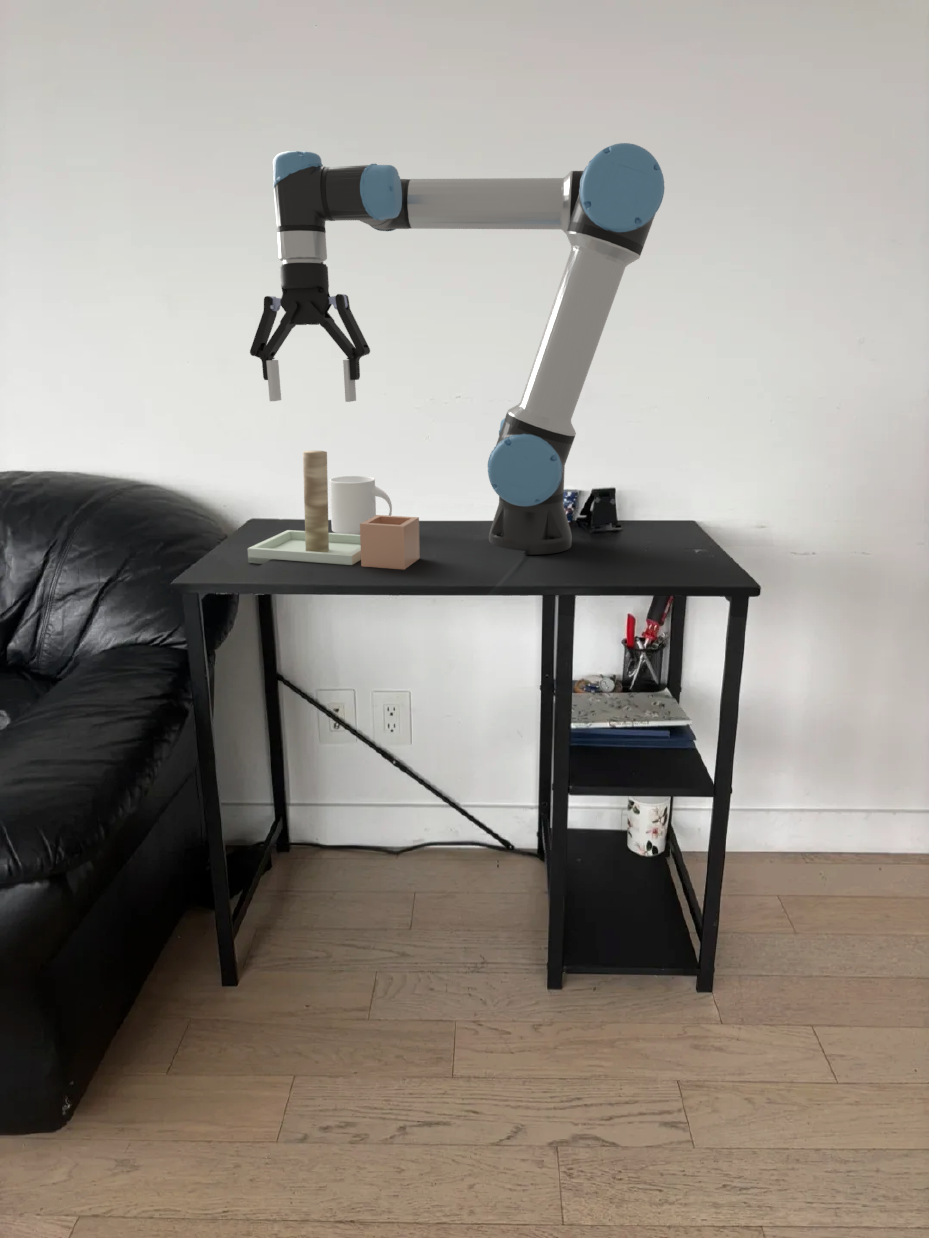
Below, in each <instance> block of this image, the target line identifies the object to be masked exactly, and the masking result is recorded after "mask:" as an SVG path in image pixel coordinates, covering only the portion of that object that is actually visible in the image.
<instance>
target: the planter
mask: <svg viewBox="0 0 929 1238" xmlns="http://www.w3.org/2000/svg"><path fill="white" fill-rule="evenodd" d="M359 535H360V543H361V560H360V563H361V564H360V565H361V567H365V568H376V569H377V568H379V569H391V570H406V569H408V568H409V567H410V566H412V564H414V563H416V562H418V560H420V556H421V555H420V517H417V516H402V515H401V516H400V515H398V516H397V515H391V516H388V515H383V514H376V516H374V517H372V518H370V519H368V520H366V521H364V522H362V523H360V534H359Z"/></svg>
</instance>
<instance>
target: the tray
mask: <svg viewBox="0 0 929 1238" xmlns="http://www.w3.org/2000/svg"><path fill="white" fill-rule="evenodd" d="M246 550H247V560H248V561H247V562H248V563H249V564H260V565H263V564H265V563H268V562H269V561H272V560H277V561H293V562H302V563H303V562H306V563H317V564H318V563H319V564H332V565H345V566H353V565H355V564H356V563H359V562H360V561H361V543H360V534H341V533H335V532H329V551H328V552H311V551H306V544H305V530H295V529H294V530H292V529H287V530H285V531H283V532H280V533H278V534H276V535H274V536H271V537H269V538H267V539H265V540H263V541H261V542H258V543H256V544H254V545H252V546H249V547H248V548H247V549H246Z"/></svg>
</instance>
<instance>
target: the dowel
mask: <svg viewBox="0 0 929 1238" xmlns="http://www.w3.org/2000/svg"><path fill="white" fill-rule="evenodd" d="M302 467H303V471H302V472H303V499H304V500H303V504H304V531H305V544H306V551H311V552H328V551H329V533H330V532H329V493H328V491H329V489H328V488H329V487H328V483H329V482H328V452H327V451H325V450H305V451H302Z"/></svg>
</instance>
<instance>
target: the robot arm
mask: <svg viewBox="0 0 929 1238" xmlns="http://www.w3.org/2000/svg"><path fill="white" fill-rule="evenodd" d="M272 179H273V180H272V182H273V183H272V190H273V197H274V198H273V199H274V208H275V209H274V210H275V219H276V220H275V221H276V232H277V250H278V251H277V253H278V259H279V260H280V261H281V262H282V263H281V264H280V266H279V274H280V275H279V278H280V288H281V291H282V292H281V293H282V294H281V297H276V296H273V295H272V296H270V295H266V296H264V298H263V312H262V314H261V316H260V317H261V318H260V319H259V320H260V321H259V324H258V326H257V329H256V331H255V332H256V333H255V335H254V339H253V341H252V344H251V348H250V349H249V354H250V356H252V357H255V358H259V359H260V360H261V364H262V366H261V368H262V377H263V379H264V380H263V381H267V384H268V385H267V386H268V397H269V402H278V401H282V393H281V392H282V391H281V390H282V389H281V380H280V367H279V365H280V364H279V359H276V357H275V356H276V354H277V353H278V352H279V350H280V348H281V347H282V345H283V344H284V342H285V341H286V339H287V337H288V336H289V335H290V333H291V332H292V330H293V329H294V328H295V327H296V326H306V325H310V326H312V325H313V326H316V325H320V326H321V327H322V328H323V329H324V330H325V331H326V333H327V334H328V336H330V338H331V339H332V340H333V341H334V342H335V344H336V345H337V346H338V347H339V349H341V351H342V353H344V355H345V356H346V359H343V360H342V361H343V362H342V363H343V366H342V367H343V380H344V381H343V382H344V383H343V384H344V399H345V403H348V402H349V403H350V402H356V401H357V392H356V390H357V389H356V381H357V380H360V379H361V370H360V369H361V368H360V359H361V358H362V357H364V356H367V355H368V356H369V354H370V353H371V348H370V347H369V345H368V343H367V340H366V338H365V336H364V334H363V332H362V330H361V328H360V326H359V325H358V322H357V320H356V319H355V316H354V314H353V312H352V310H351V307H350V299H349V296H348V295H347V294H344V293H342V294H340V293H337V294H336V295H333V296H330V292H329V288H330V284H329V267H328V266H327V264H326V263H324V262H325V261H327V259H328V253H327V252H328V251H327V236H326V233H327V232H326V230H327V229H326V222H327V221H328V222H335V221H358V222H359V221H360V222H361V223H364V224H366V225H368V226H370V228H373V229H374V230H375V231H376V230H377V231H378V232H379V231H380V232H392V231H395V230H409V229H416V230H421V229H423V230H426V229H428V230H431V229H433V230H434V229H435V230H436V229H437V230H438V229H440V230H441V229H443V230H449V229H450V230H456V229H457V230H468V229H469V230H472V229H473V230H561V231H563V233H564V234H565V235H566V237H567V239H568V242H569V245H570V253H569V254H568V255H569V256H568V258H567V262H566V265H565V267H564V271H563V273H562V277H561V279H560V282H559V286H558V288H557V292H556V295H555V297H554V300H553V304H552V306H551V310H550V313H549V316H548V318H547V321H546V324H545V328H544V331H543V333H542V336H541V340H540V342H539V346H538V349H537V351H536V353H535V358H534V360H533V363H532V367H531V369H530V373H529V375H528V379H527V381H526V384H525V387H524V390H523V393H522V396H521V400H520V401H519V403H518V404H516V405H514V406H512V407H511V408H509V409H507V411H506V415H505V417H504V418H502V420H501V421H500V427H499V430H498V438H497V441H496V444H495V446H494V447H493V449H492V450H491V453H490V454H489V457H488V461H487V474H488V480H489V482H490V485H491V487H492V489H493V491H494V492H495V493H496V494H497V496H498V506H497V509H496V511H495V514H494V517H493V521H492V524H491V526H490V528H489V529H490V530H489V532H488V541H489V543H490V544H491V545H494V546H496V547H500V548H504V549H510V550H517V551H518V550H519V551H525V552H523V555H531V556H532V555H533V556H534V555H549V554H558V553H561V552H565V551H567V550H569V549H571V547H572V541H573V540H572V539H573V536H572V535H573V534H572V530H571V526H570V523H569V521H568V516H567V513H566V509H565V505H564V495H565V494H564V492H565V469H566V468H565V465H566V463H567V460H568V458H569V455H570V451H571V449H572V446H573V443H574V440H575V437H576V435H577V433H576V430H575V428H574V426H573V424H572V418H573V416H574V412H575V409H576V406H577V405H578V401H579V399H580V396H581V392H582V391H583V388H584V385H585V382H586V379H587V376H588V373H589V371H590V367H591V365H592V361H593V359H594V357H595V353H596V351H597V348H598V345H599V343H600V340H601V336H602V334H603V332H604V328H605V326H606V322H607V320H608V317H609V314H610V311H611V308H612V306H613V303H614V300H615V297H616V295H617V293H618V289H619V286H620V283H621V280H622V278H623V275H624V272H625V269H626V267H628V266H629V265H631V264H632V263H634V262H636V261H637V260H640V257H641V255H642V252H643V250H644V247H645V244H646V241H647V238H648V235H649V233H650V230H651V228H652V225H653V221H654V219H655V216H656V215H657V212H658V211H659V209H660V207H661V205H662V202H663V198H664V195H665V179H664V174H663V171H662V168H661V166H660V164H659V162H658V161H657V159H656V157H655V156H654V155H653V154H652V153H651V152H650V151H648V149H646V148H645V147H642V146H640V145H638V144H634V143H629V142H623V143H622V142H621V143H620V142H619V143H616V144H612V145H609V146H607V147H605V148H603V149H601V150H600V151H598V152H597V153H596V154H595V155H594V156H593V158H592V159H591V160H590V161H589V162H588V164H587V165H586V166H585V168H584V170H571V171H569V173H567V175H565V177H557V178H556V177H550V178H549V177H547V178H545V177H538V178H537V177H535V178H532V177H530V178H526V177H525V178H524V177H523V178H522V177H519V178H514V177H513V178H512V177H511V178H507V177H506V178H501V177H500V178H411V179H410V178H409V179H407V178H401V177H400V175H399V172H398V169H397V168H396V167H395V166H394V165H391V164H377V163H371V164H364V165H349V166H347V165H346V166H324V165H323V163H322V158H321V156H320V155H319V154H317V153H316V152H311V151H305V150H304V151H303V150H302V151H298V150H292V151H291V150H289V151H282V152H280V153H277V154H276V155H275V156H274V158H273V160H272ZM332 305H333V308H334V309H335V310H337V314H338V315H339V317H340V319H341V322H342V323H343V326H344V328H345V329H346V331H347V333H348V336H349V338H350V339H351V341H352V342H351V341H350V340H349V338H348V337H347V336H346V334H345V333H344V332H343V331H342V329H341V328H340V327H339V326H338V325H337V324H336V322H335V319H334V318H333V317H332V316H331V314H330V313H329V310H330V309H331V307H332ZM281 307H282V309H283V311H284V315H283V316H282V317H281V320H280V321H279V324H278V326H277V328H276V329H275V331H274V333H273V334H272V336H271V337H270V335H271V332H272V330H273V327H274V323H275V321H276V318H277V315H278V311H280V309H281Z"/></svg>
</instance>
